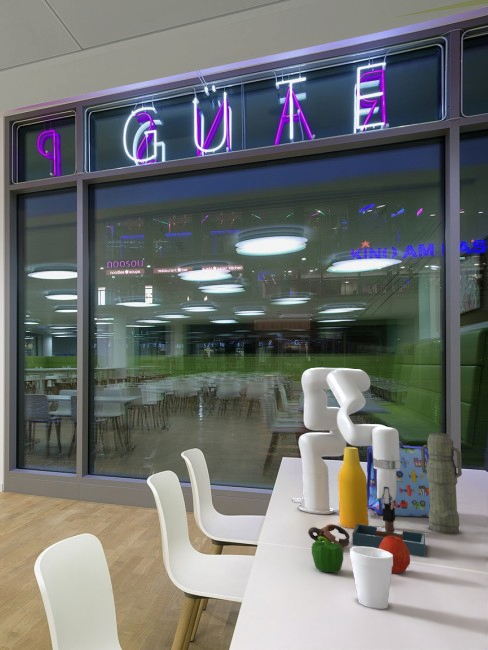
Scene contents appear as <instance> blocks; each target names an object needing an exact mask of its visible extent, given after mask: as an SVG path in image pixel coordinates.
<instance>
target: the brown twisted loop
mask: <svg viewBox="0 0 488 650" xmlns="http://www.w3.org/2000/svg"><path fill="white" fill-rule="evenodd" d="M335 530H337V532H338V534H342V535H344V536H345V538H338V540H336V537H337V536H335V535H334V534H333V533H332V532H333V531H335ZM307 533H308V536H309V538H310V539H311V540H313V541H314V542H316V541H317V540H319V539H318V538H317V537H319V536H322V537H325V538H326V539H327V541H330V542H332V543H334V544H339V545H341V547H342V549H345V548H347V547H348V546H349V545H350V534H349V532H348V531H347V530H346V529H345V528H344V527H342V526H340V525H336V524H333V523H331V524H330V523H329V524H326V525H325V526H323V527H322V528H319V527H315V526H313V527H310V528H309V529H308V530H307ZM315 534H316V535H315ZM320 541H322V542H324V540H323V539H321V540H320Z"/></svg>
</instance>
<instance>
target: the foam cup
mask: <svg viewBox="0 0 488 650" xmlns="http://www.w3.org/2000/svg"><path fill="white" fill-rule="evenodd" d="M349 557H350V558H349V559H350V560H351V566H352V572H353V577H354V581H355V582H354V583H355V587H356V595H357V600H358V603H359V604H361V605H363V606H365V607H367V608H371V609H378V610H383V609H384V610H385V609H388V606H389V597H390V587H391V578H392V573H391V571H392V566H393V554H391V553H390V552H388V551H385V550H382V549H377V548H373V547H364V546H352V547H350V548H349Z"/></svg>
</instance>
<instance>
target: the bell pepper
mask: <svg viewBox="0 0 488 650" xmlns="http://www.w3.org/2000/svg"><path fill="white" fill-rule="evenodd" d="M317 538H318V539H319V540H317V541H314V542H313V543H312V545H311V554H312V555H311V556H312V559H313V563H314V566H315V568H316V570H318V571H319V572H323V573H335V574H337V573H340V571H341V569H342V567H343V562H344V548H342V547H341V545H339V544H334V543H333V542H330V541H327V539H326V538H325V537H322V536H319V537H317ZM321 539H323V540H324V541H320V540H321Z"/></svg>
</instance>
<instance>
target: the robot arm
mask: <svg viewBox="0 0 488 650" xmlns="http://www.w3.org/2000/svg"><path fill="white" fill-rule="evenodd" d="M300 382H301V387H302V391H303V397H304V398H303V425H304V426H305V428H306V429H308V430H312V431H329V432H306V433H304V434H301V435H300V436H299V438H298V448H299V451H300V452H299V453H300V457H301V459H300V460H301V471H302V472H301V473H302V475H301V477H302V478H301V479H302V497H299V498H298V497H294V496H293V497H291V502H292V503H293V504H299V506H298V507H299V508H298V509H299V510H300V511H302V512H305V513H309V514H315V515H331V514H334V513H335V509H334V507H331V505H330V479H329V477H330V476H329V467H328V465H327V463H326V462H325V460H324V459H323V457H342V456H344V450H345V447H347V444H349V445H351V446H352V447H372V446H373V466H374V468H375V469H377V498H378V499H380V498H382V496H383V508H382V512H383V514H382V521H384V522H385V521H389V522H395V520H396V516H395V508H393V507H394V500H395V497H396V471H399V470H400V454H399V441H400V434H399V431H398V429H397V428H395V427H389V426H385V425H383V424H378V423H377V424H376V423H375V424H369V423H367V424H366V423H363V424H360V423H354V422H352V421H353V420H352V419H351V418H350V415H352V414H355V413H356V412H359V411H360V410H362V409H363V408H364V407H365V405H366V403H367V402H366V401H367V400H366V397H365V396H364V395H363V393H362V392H367V391H368V390H369V389H370V387H371V379H370V376H369V375H368V374H367V372H366V371H365V370H362V369H354V368H347V367H346V368H345V367H314V368H313V367H312V368H308V369H306V370H304V372H303V373H302V375H301V381H300ZM325 390H330V391H331V392H332V394H333V396H334V397H335V400H336V401H337V403H338V405H339V407H336V406H328V402H329V400H328V399H329V398H328V395H327V393H326V391H325Z"/></svg>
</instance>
